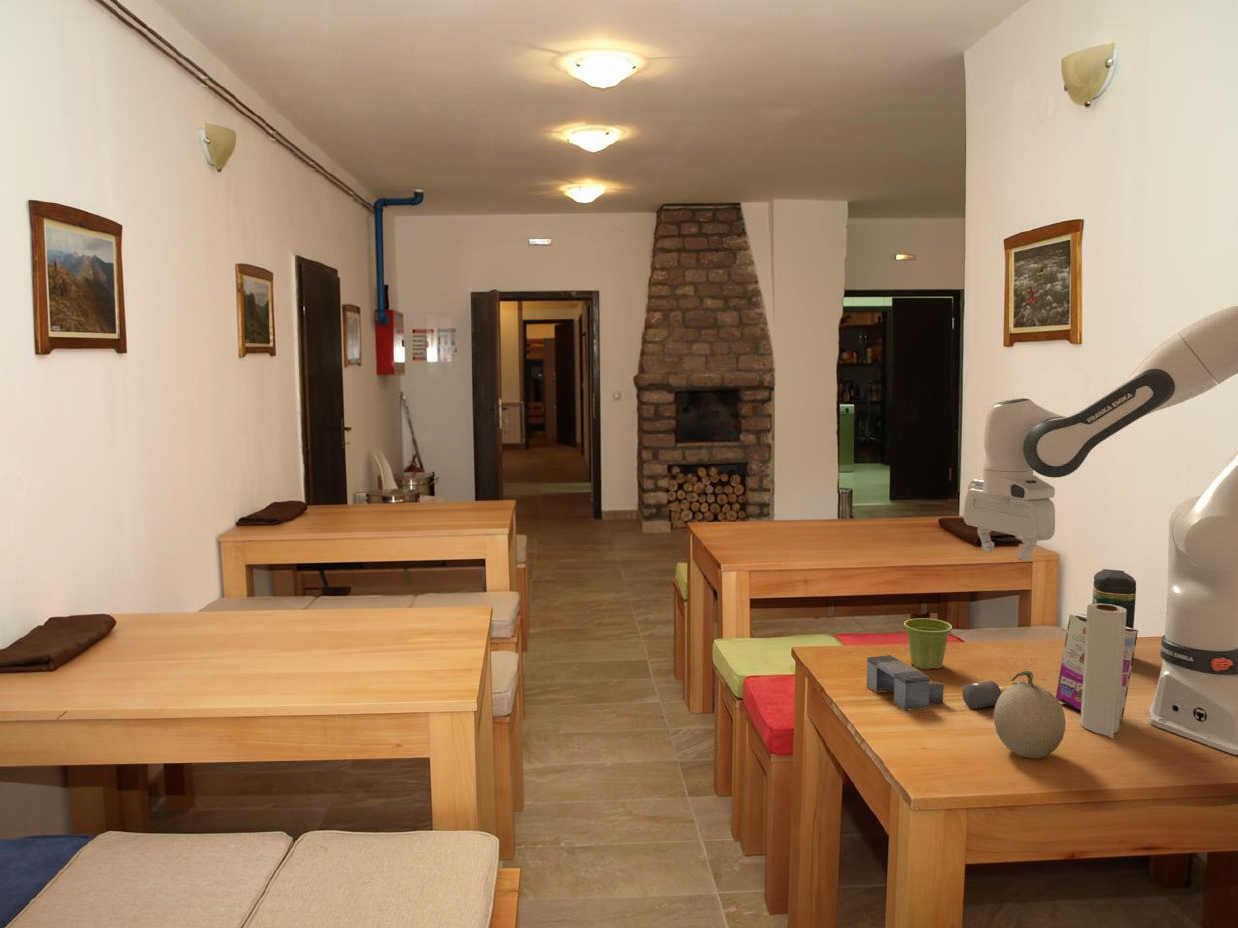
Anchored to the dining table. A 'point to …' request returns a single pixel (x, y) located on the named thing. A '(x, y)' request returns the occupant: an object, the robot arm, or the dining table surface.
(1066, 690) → the candy bar box
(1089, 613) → the paper towel roll
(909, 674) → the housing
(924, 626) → the plant pot
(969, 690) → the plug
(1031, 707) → the fruit
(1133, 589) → the coffee jar
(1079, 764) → the dining table surface
